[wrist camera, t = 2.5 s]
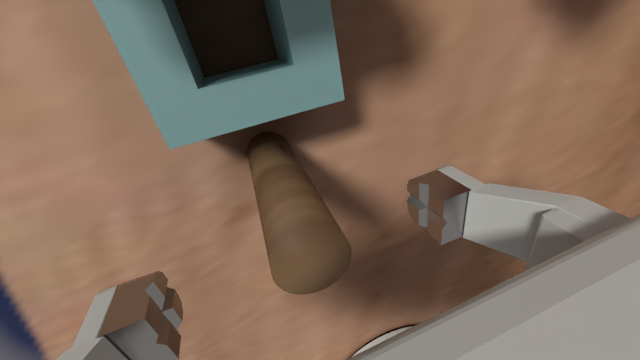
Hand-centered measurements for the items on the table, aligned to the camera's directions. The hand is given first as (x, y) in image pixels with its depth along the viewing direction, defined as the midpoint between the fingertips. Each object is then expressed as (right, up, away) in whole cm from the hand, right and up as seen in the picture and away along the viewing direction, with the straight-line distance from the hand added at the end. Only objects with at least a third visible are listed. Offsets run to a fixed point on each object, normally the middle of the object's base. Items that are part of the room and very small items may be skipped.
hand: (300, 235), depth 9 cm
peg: (-3, +4, +8) cm, 9 cm away
